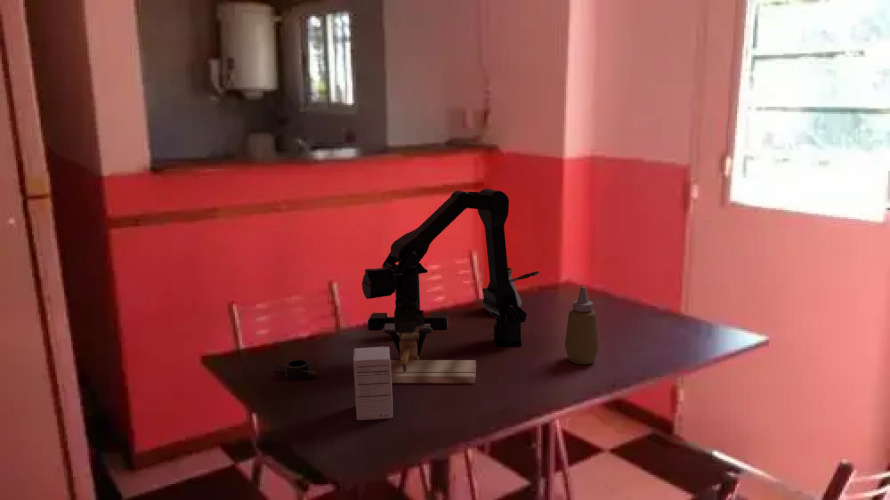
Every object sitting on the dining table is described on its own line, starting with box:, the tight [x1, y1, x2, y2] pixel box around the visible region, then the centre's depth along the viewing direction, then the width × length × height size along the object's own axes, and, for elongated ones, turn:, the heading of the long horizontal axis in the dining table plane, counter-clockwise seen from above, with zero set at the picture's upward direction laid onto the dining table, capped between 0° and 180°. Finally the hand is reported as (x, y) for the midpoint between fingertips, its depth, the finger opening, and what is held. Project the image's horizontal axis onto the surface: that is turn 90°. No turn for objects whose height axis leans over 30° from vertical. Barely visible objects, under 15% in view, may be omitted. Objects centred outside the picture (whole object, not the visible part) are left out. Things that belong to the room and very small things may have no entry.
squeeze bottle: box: [564, 286, 600, 365], centre depth 170 cm, size 8×8×18 cm
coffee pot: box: [482, 266, 543, 315], centre depth 206 cm, size 21×12×15 cm, turn 37°
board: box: [390, 359, 477, 384], centre depth 165 cm, size 22×10×2 cm, turn 86°
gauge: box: [399, 333, 420, 372], centre depth 169 cm, size 4×15×6 cm, turn 177°
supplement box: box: [352, 346, 394, 421], centre depth 145 cm, size 7×7×13 cm
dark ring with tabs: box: [277, 358, 319, 380], centre depth 167 cm, size 8×10×3 cm
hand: (409, 355), depth 173 cm, fingers closed on gauge, 4 cm apart
